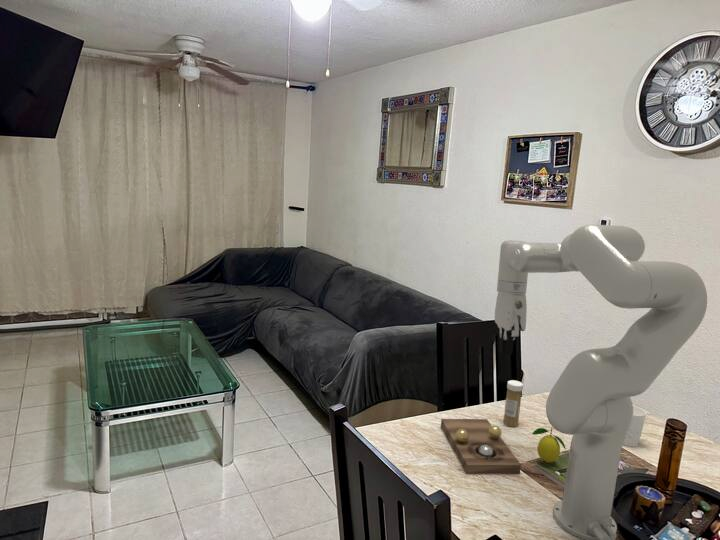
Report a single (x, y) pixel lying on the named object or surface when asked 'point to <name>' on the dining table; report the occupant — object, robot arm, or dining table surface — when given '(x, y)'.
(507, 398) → the sprinkles bottle
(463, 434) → the brass ball
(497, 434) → the brass ball
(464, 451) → the plate
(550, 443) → the lemon
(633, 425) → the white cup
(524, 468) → the dining table surface
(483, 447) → the steel ball
